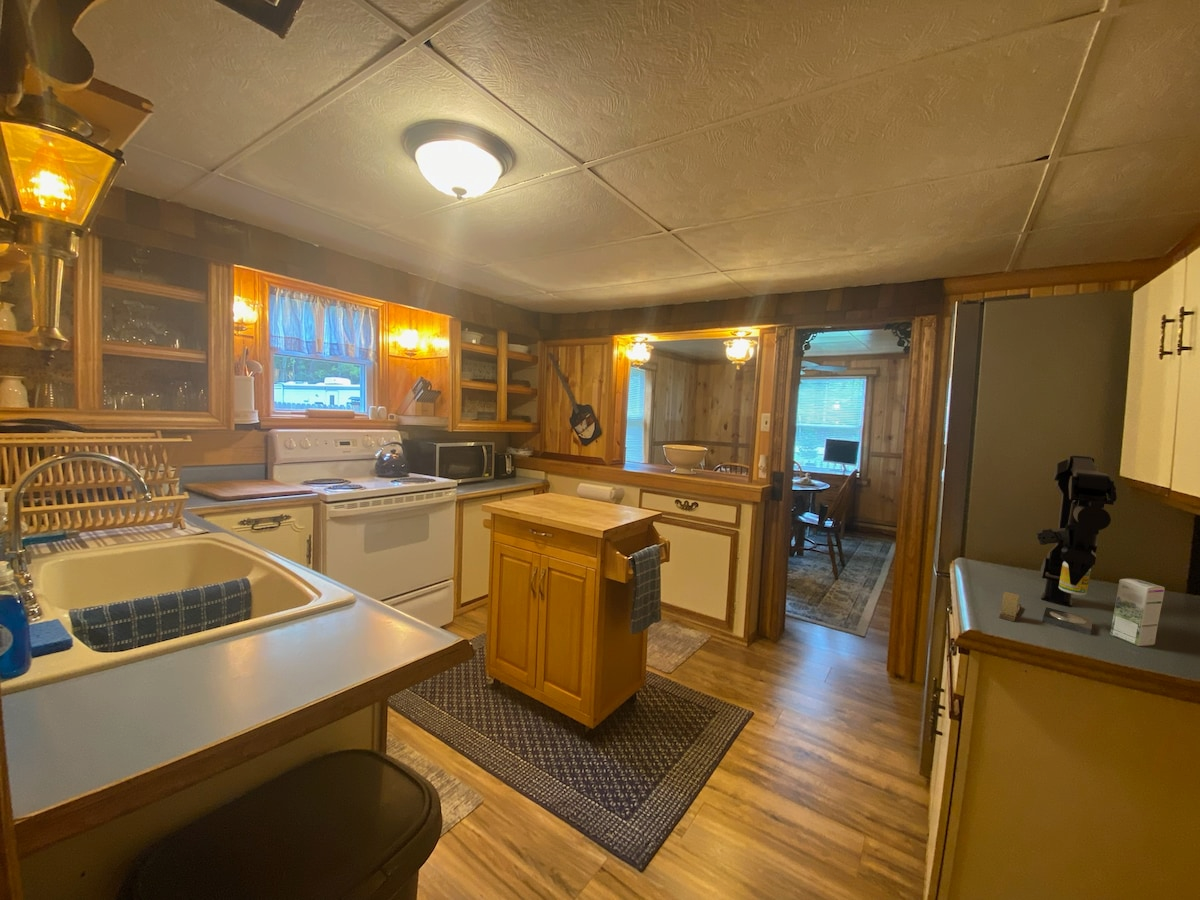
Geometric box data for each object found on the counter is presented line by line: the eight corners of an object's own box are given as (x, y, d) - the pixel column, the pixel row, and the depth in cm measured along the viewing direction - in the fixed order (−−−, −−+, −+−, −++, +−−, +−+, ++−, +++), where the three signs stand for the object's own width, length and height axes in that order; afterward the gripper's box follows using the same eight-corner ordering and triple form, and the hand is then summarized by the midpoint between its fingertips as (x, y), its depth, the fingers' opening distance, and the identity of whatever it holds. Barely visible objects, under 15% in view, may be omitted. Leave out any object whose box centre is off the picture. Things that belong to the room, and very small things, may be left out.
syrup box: (1155, 645, 120) (1166, 586, 119) (1137, 646, 119) (1148, 587, 117) (1126, 633, 126) (1136, 577, 124) (1108, 635, 125) (1118, 578, 123)
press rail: (1007, 603, 141) (1007, 600, 141) (1020, 607, 139) (1021, 604, 139) (999, 617, 131) (1000, 614, 131) (1014, 621, 129) (1014, 618, 129)
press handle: (1002, 609, 134) (1004, 591, 133) (1016, 613, 132) (1019, 595, 131) (1000, 612, 132) (1003, 594, 131) (1015, 616, 129) (1018, 598, 129)
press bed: (1045, 612, 137) (1046, 606, 136) (1091, 624, 130) (1092, 618, 130) (1042, 621, 130) (1043, 615, 130) (1090, 634, 124) (1091, 628, 124)
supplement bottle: (1062, 586, 133) (1068, 550, 132) (1089, 593, 129) (1096, 557, 128) (1055, 589, 130) (1061, 553, 129) (1083, 597, 126) (1089, 560, 125)
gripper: (1045, 510, 139) (1036, 565, 141) (1038, 521, 126) (1028, 581, 128) (1101, 519, 132) (1091, 577, 134) (1100, 531, 119) (1089, 595, 120)
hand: (1073, 582), depth 129 cm, fingers closed on supplement bottle, 5 cm apart
